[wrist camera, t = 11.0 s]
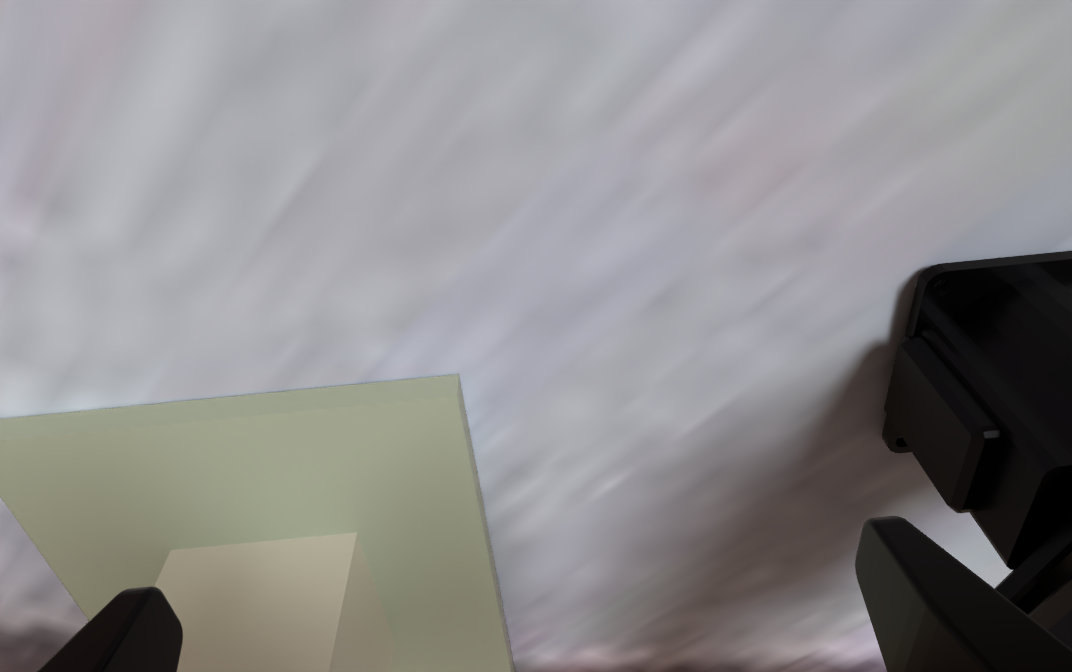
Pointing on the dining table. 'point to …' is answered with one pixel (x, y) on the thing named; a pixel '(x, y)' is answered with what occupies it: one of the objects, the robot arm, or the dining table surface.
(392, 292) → the dining table surface
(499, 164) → the dining table surface
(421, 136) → the dining table surface
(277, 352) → the dining table surface
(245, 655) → the block
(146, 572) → the stub plate
